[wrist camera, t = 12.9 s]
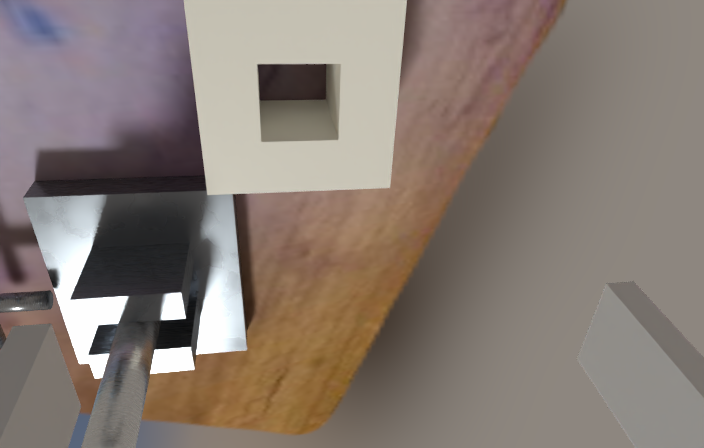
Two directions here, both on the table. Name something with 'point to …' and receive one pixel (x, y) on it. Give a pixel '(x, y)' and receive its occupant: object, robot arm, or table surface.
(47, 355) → the robot arm
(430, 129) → the table surface
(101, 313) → the vise
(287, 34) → the collar
